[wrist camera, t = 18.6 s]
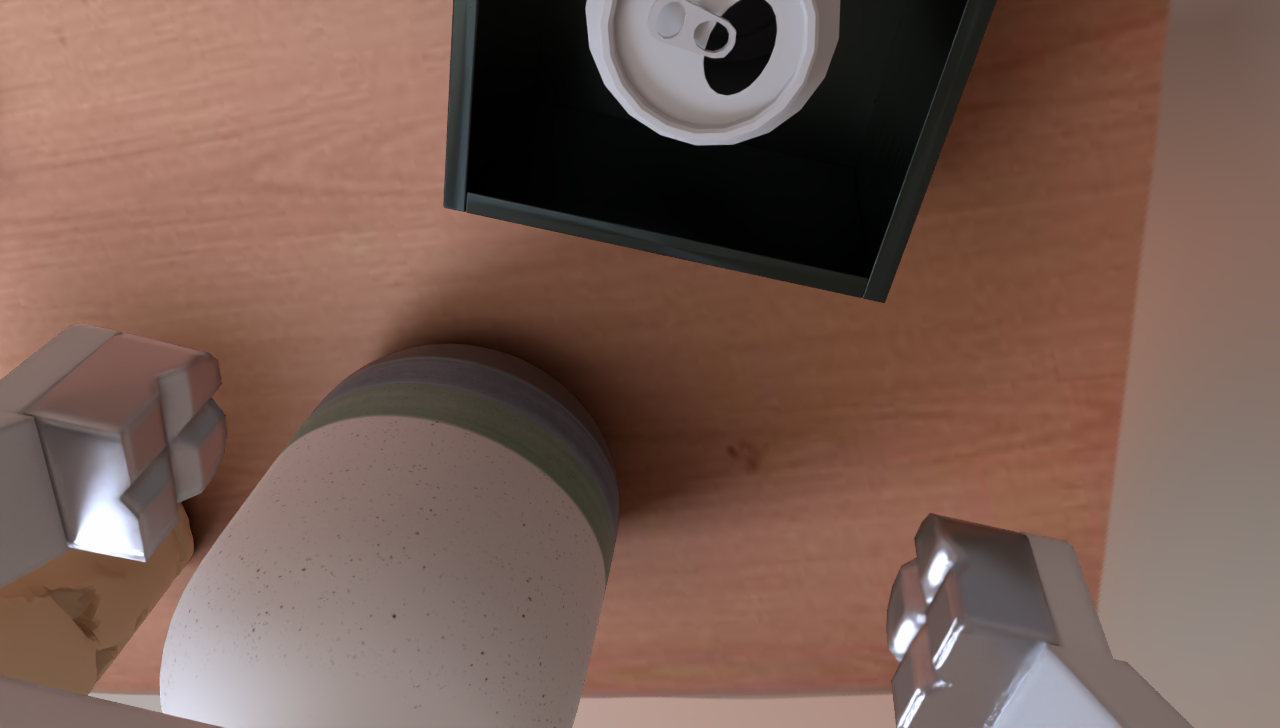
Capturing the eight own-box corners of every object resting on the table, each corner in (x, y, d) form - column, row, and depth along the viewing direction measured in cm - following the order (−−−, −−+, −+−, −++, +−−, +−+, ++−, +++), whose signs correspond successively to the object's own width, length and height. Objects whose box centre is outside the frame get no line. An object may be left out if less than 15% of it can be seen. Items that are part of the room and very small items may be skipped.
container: (236, 560, 60) (52, 826, 45) (88, 584, 64) (-127, 837, 49) (122, 407, 54) (-133, 656, 39) (-34, 443, 58) (-322, 684, 43)
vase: (295, 316, 49) (-50, 705, 29) (609, 302, 46) (463, 728, 26) (384, 551, 58) (168, 969, 38) (652, 553, 55) (567, 1011, 35)
